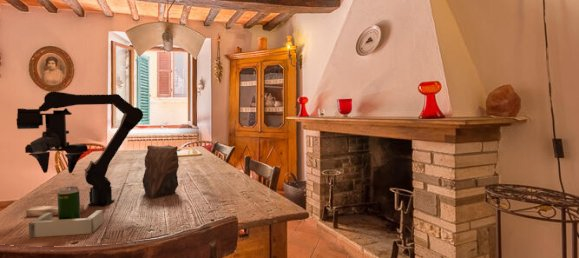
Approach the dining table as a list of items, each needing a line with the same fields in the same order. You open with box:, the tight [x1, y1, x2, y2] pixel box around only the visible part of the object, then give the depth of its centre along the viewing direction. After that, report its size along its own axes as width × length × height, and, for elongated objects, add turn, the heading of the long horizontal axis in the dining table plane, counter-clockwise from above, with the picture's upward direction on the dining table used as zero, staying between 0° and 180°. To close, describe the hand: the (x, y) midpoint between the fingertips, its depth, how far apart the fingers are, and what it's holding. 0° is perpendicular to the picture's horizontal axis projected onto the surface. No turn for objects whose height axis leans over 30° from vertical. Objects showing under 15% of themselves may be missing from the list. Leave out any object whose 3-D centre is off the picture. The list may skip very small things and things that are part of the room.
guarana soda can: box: [56, 185, 81, 220], centre depth 96 cm, size 5×5×12 cm
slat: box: [25, 204, 85, 217], centre depth 111 cm, size 16×4×2 cm, turn 96°
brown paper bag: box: [142, 144, 180, 200], centre depth 136 cm, size 13×13×20 cm
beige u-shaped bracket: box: [28, 209, 104, 238], centre depth 96 cm, size 9×16×4 cm, turn 101°
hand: (57, 172), depth 114 cm, fingers open, 9 cm apart
